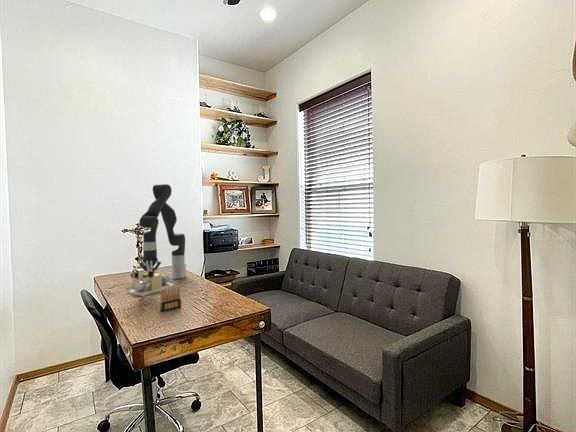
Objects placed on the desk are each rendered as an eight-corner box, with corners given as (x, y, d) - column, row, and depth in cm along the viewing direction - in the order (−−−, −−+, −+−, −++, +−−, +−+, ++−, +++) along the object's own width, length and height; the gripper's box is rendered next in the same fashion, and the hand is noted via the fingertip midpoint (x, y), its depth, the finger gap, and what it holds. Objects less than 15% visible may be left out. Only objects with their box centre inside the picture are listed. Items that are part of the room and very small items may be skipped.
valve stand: (161, 284, 222) (161, 268, 221) (176, 286, 215) (175, 270, 215) (127, 293, 199) (126, 276, 198) (142, 296, 192) (142, 278, 192)
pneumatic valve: (153, 284, 222) (152, 266, 221) (135, 286, 214) (134, 269, 214) (150, 282, 226) (150, 265, 226) (132, 285, 218) (132, 267, 218)
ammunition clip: (161, 312, 162) (161, 289, 162) (159, 311, 164) (159, 288, 163) (181, 307, 170) (180, 285, 170) (179, 307, 171) (179, 284, 171)
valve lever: (150, 272, 208) (150, 269, 208) (155, 272, 208) (155, 269, 208) (141, 277, 192) (141, 274, 192) (147, 277, 193) (147, 274, 193)
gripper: (163, 248, 198) (164, 275, 199) (141, 248, 198) (142, 276, 198) (158, 249, 191) (159, 278, 191) (136, 250, 190) (137, 279, 191)
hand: (150, 277), depth 195 cm, fingers closed
